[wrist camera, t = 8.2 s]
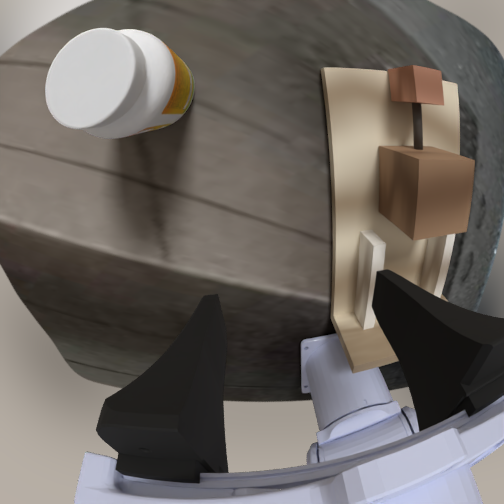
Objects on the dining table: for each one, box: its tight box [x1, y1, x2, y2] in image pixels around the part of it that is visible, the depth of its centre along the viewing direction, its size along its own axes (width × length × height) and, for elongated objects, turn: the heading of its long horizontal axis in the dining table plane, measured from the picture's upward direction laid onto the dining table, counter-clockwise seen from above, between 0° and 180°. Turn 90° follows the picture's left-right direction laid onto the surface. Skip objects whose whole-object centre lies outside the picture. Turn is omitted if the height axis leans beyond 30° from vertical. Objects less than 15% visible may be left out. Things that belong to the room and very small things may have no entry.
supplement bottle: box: [45, 28, 195, 139], centre depth 11 cm, size 5×5×10 cm
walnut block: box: [379, 65, 475, 241], centre depth 15 cm, size 11×5×5 cm, turn 8°
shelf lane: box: [321, 68, 460, 373], centre depth 17 cm, size 21×12×7 cm, turn 8°
